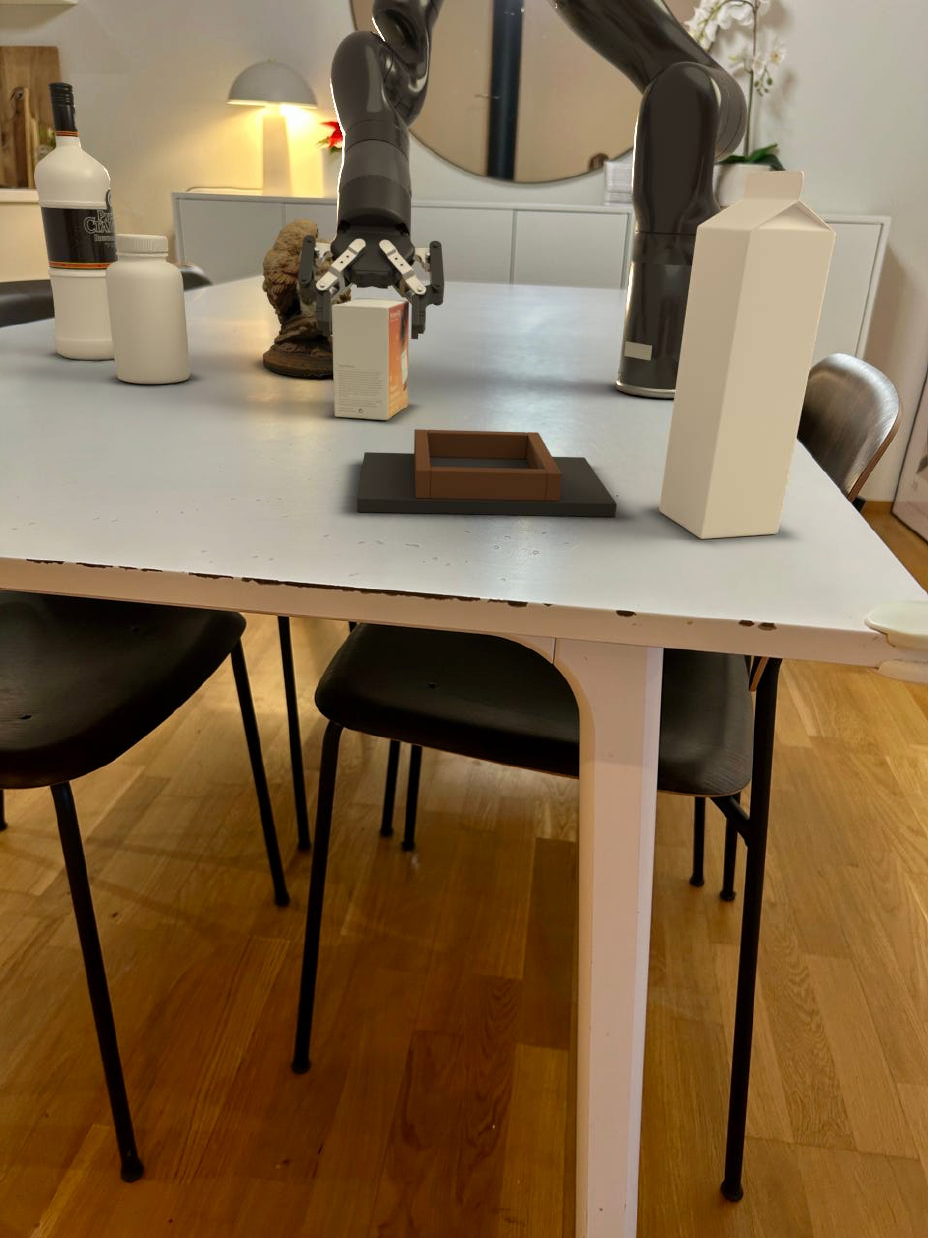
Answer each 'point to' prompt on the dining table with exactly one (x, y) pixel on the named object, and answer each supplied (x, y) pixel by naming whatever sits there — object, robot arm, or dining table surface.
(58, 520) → the dining table surface
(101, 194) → the vodka
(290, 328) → the owl figurine
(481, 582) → the dining table surface
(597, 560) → the dining table surface
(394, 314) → the small box
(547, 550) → the dining table surface
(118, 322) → the pill bottle
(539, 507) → the dock pad
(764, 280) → the milk
